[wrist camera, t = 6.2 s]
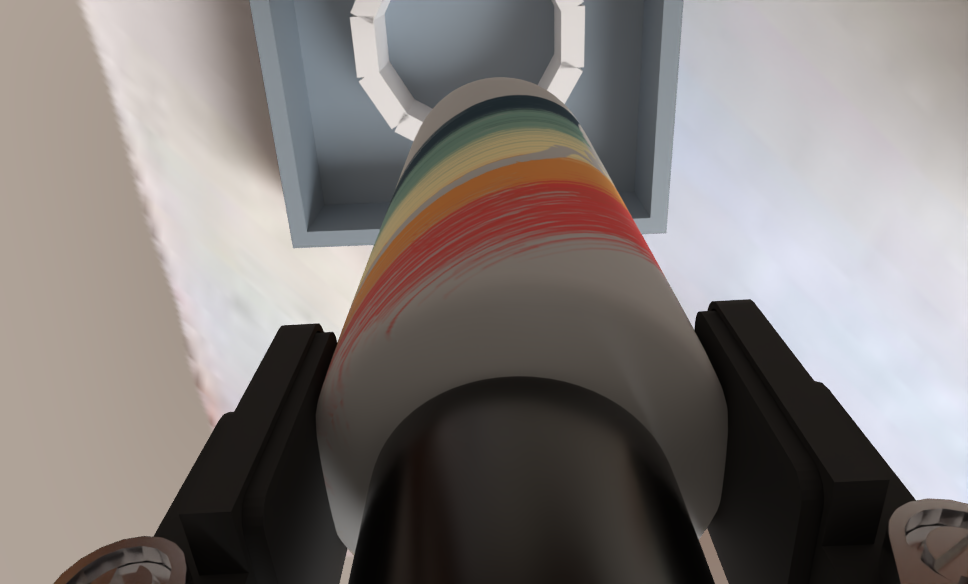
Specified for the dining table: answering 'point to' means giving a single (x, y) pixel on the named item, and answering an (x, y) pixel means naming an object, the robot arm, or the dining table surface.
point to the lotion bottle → (518, 370)
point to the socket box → (444, 68)
